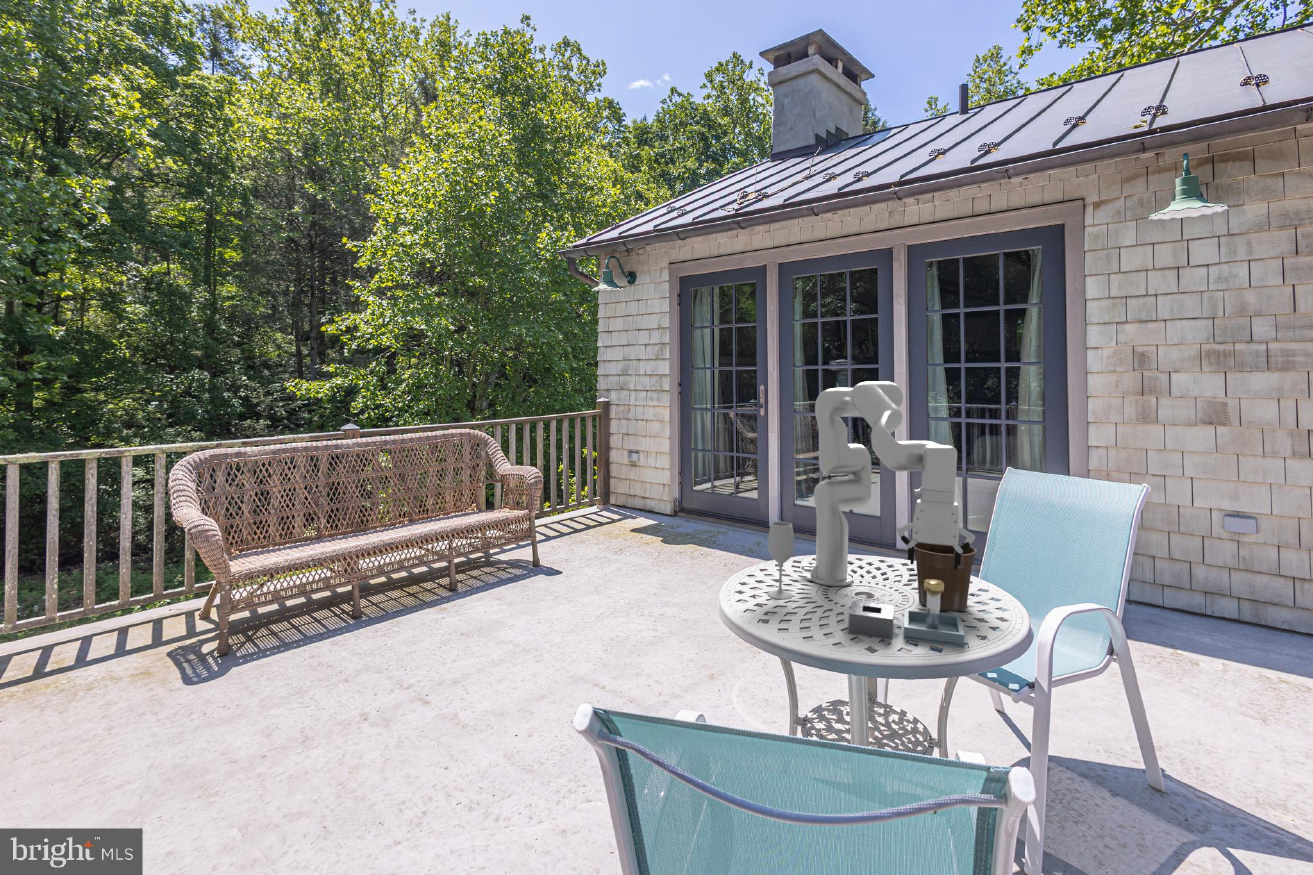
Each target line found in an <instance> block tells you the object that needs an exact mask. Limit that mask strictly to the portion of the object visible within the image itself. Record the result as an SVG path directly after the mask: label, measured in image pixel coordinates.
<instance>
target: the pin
mask: <svg viewBox="0 0 1313 875" xmlns="http://www.w3.org/2000/svg"><path fill="white" fill-rule="evenodd" d="M924 590H925V591H927V606H925V607H926V610H925V612H926V628H927V629H935V630H939V619H940V614H941V608H940V594H941V593H943V592H944V582H942V581H939V580H933V579H928V580H925V581H924Z"/></svg>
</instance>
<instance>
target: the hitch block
mask: <svg viewBox="0 0 1313 875" xmlns="http://www.w3.org/2000/svg"><path fill="white" fill-rule="evenodd" d="M894 616H895V605H892V604H891V605H890V604H881V603H875V602H867V601H865V602H864V601H859V600H858V601H857V600H852V601H851V606H850V608H849V612H848V634H851V635H855V636H857V635H858V636H863V637H869V638H877V639H878V638H879V639H883V640H891V641H892V640H893V634H894V621H895V620H894Z"/></svg>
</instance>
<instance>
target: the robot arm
mask: <svg viewBox="0 0 1313 875" xmlns="http://www.w3.org/2000/svg"><path fill="white" fill-rule="evenodd" d="M903 400H904V396H903V392H902V390H901V388H900V387H899V385H898V384H896V383H894V382H891V381H863V382H859V383H857V384H855V385H854V386H853V387H834V388H827V389H825V390H823V391H822V392H820V393H819V394H818V396H817V398H816V400H815V404H814V408H815V409H814V411H815V418H816V422H817V428H818V464H819V465H818V466H819V469H820V471H821V473H823V475H824V474H825V475H828V476H845V475H846V476H847V475H848V478H839V479H838V478H837V479H836V478H835V479H825V480H823V481H820V482H819V483H818V484H816V485H815V487H814V490H813V499H814V506H815V512H816V537H815V538H816V542H815V543H816V544H815V547H816V548H815V549H816V550H815V563H814V564H813V563H812V564H806V563H802V564H801V571H804V572H805V573H810V577H809V578H810V580H811V581H812V582H814V583H815V584H819V585H822V586H823V585H824V586H832V587H842V586H843V587H844V586H849V585H851V584H852V583H853V577H852V576H851V575H849V574H848V562H849V561H848V557H849V556H848V555H849V552H848V551H849V522H848V520H847V518H846V517H845V515H844V514H843V511H848V510H849V511H850V510H859V509H864V508H867V506H869V504H870V501H871V498H872V458H871V454H870V452H869V450H868V448H867V447H866V446H864V445H863V444H859V443H849V441H848V429H847V426H846V424H845V423H844V421H843V420H842V419H841V417H862V418H863V419H864V420H865V422H867V424H868V426H870V428H871V432H870V433H871V435H870V442H871V448H872V450H873V452H874V454H875V455H876V456H877V458H878V459H879V460H880V462H881V463H882V464H883V465H884V466H885V467H886V468H887V469H889V470H890V471H893V472H900V473H901V472H921V480H920V483H921V484H920V488H919V489H913V490H914V491H913V495H914V496H916V497H919V499H917V500H916V504H915V507H914V513H913V521H912V522H908V523H906V524H904V525H901V526H899V527H897V528H896V532H897V534H898V536H899V538H900V540H901V541H902V542H903V543H904V545H905V546H906V547H907V560H908V561H910V565H914V563H915V555H914V545H915V544H916V543H917V542H919V543H927V544H936V545H946V546H953V547H954V548H955V551H954V560H953V567H954V569H955V570H957V565H958V566H960V564H961V553H963V551H965V550H966V549H967V548H969V547H970V546H971V545H972V544H973V543H974V541H975V540H976V536H975V534H973V533H972V532H970V531H969V530H966V529H965V528H962V527H961V526H960V513H959V512H960V510H959V505H958V503H957V502H955V498H956V497H955V495H956V481H957V480H956V479H957V463H958V450H957V449H956V447H954V446H952V445H948V444H946V445H945V444H938V443H936V442H934V441H930V440H905V441H904V440H901V441H899V440H897V439H895V438H894V436H892V433H893V432H895V431H896V430H897V429H898V428H899V427H900V425H901V424H902V421H903V417H904V416H903V413H902V411H901V409H900V407H901V405H902V404H903ZM910 530H912V535H911V536H912V537H911V538H910V539H909V537H907V535H906V534H905V532H907V531H910ZM960 535H961V536H964V537H965V538H966V540H965V541H964V542H962V543H960V544H961V545H959V538H960Z"/></svg>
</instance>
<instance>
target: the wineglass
mask: <svg viewBox="0 0 1313 875" xmlns="http://www.w3.org/2000/svg"><path fill="white" fill-rule="evenodd" d="M793 528H794V527H793V524H792V523H791V522H788V521H781V520H780V521H772V522H771V523H770V526H769V532H768V537H767V551H768V554H769V556H770V557H771V558H772V559H773V561H775V562H776V563H778V566H779V570H778V574H779V575H778V576H779V577H778V589H777V590H776V589H775V590H770V591H768V592H767V596H768V597H769V598H772V599H775V600H776V599H777V600H789V599H792V598H793V597H794V596H793V593H792V592H789V591H786V590H783V587H782V584H783V583H782V582H783V581H782V579H783V578H782V576H783V565H784V564H785V563H786V562H787V561H789V560H790V559H791V557H792V556H793V555H794V552H795V548H796V547H795V546H796V545H795V544H796V543H795V536H794V535H795V534H794V529H793Z"/></svg>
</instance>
